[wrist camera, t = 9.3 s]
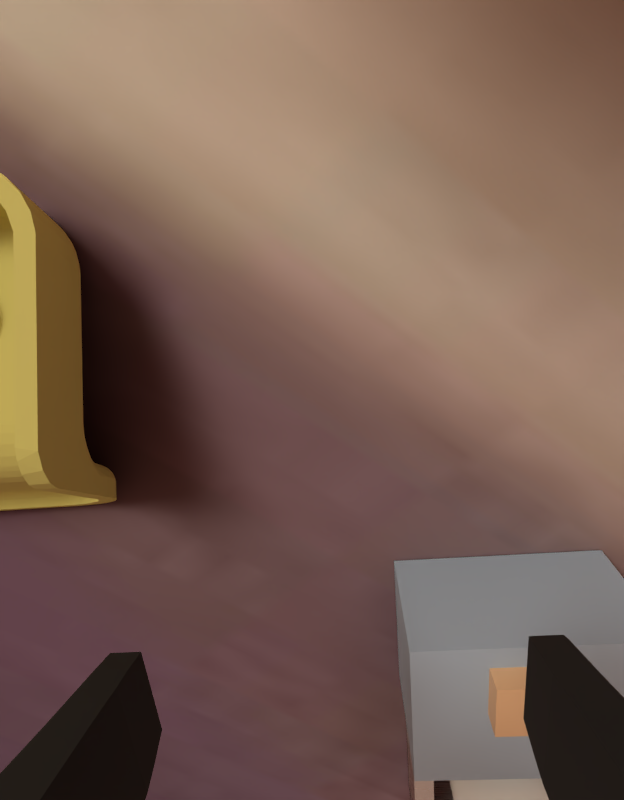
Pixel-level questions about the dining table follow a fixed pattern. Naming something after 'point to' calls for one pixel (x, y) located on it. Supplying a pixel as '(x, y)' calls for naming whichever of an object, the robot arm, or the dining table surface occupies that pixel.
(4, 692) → the dining table surface
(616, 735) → the robot arm
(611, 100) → the dining table surface
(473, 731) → the block
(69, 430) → the plastic component
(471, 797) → the cream capped bottle
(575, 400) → the dining table surface
